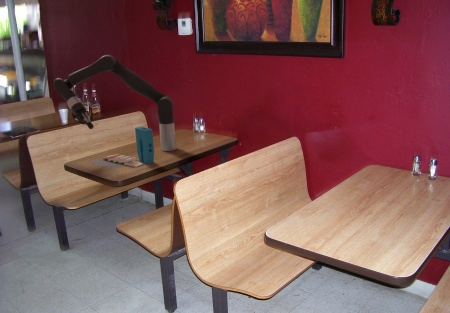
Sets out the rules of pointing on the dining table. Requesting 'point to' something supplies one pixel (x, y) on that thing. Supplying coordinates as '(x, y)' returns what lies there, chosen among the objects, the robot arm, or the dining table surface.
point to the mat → (107, 163)
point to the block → (145, 144)
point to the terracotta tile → (111, 156)
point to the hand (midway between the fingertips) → (92, 128)
